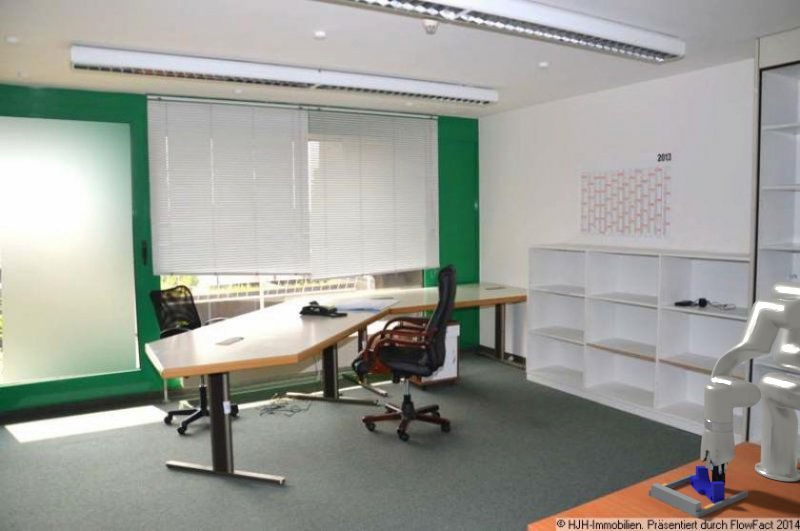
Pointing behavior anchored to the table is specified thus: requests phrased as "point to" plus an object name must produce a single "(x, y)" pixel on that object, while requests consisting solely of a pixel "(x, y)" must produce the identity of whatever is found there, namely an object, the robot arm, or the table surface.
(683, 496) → the u-shaped alignment fixture
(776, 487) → the table surface
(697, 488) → the cable clip
